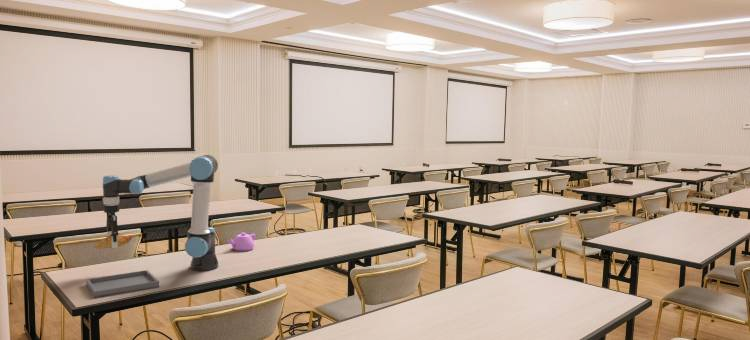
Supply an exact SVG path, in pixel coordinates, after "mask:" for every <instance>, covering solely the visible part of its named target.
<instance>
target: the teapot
mask: <svg viewBox="0 0 750 340" xmlns="http://www.w3.org/2000/svg"><path fill="white" fill-rule="evenodd" d="M255 239H256V233H251V234H247V233H246V232H241V233H240V234H237V235H236V236H235V238H233V239H232V238H228V240H227V241H228V242H229V244H231V246H232V247H231V248H232V249H234V251H237V252H246V251H247V252H248V251H251V250H253V249H254V248H255V243H254V242H255Z"/></svg>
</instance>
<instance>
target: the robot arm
mask: <svg viewBox="0 0 750 340" xmlns="http://www.w3.org/2000/svg"><path fill="white" fill-rule="evenodd" d="M218 163H219V162H218V160H217V159H216V157H214V156H212V155H210V154H205V155H201V156H197V157H195V158H194V159H192V160H191V161H190V162H188V163H187V162H186V163H183V164H180V165H176V166H173V167H169V168H164V169H162V170H161V169H160V170H158V171H155V172H151V173H146V174H143V175H138V176H136V177H133V178H130V179H123V178H122V179H121V178H120V177H119V175H117V174H109V175H104V176H103V177H102V192H103V194H102V195H103V197H102V200H101V201H103V213H106V228H105V229H106V232H107V236H109V235H110V236H111V240H112V248H111V249H116V248H119V247H118V241H117V235H118V234H119V229H118V228H119V227H118V216H117V215H116V214H117V213H119V212H120V195H121V194H122V195H123V194H128V195H129V194H130V195H137V194H138V195H139V194H142V193H143V191H144V190H145V189H149V188H153V187H157V186H160V185H164V184H168V183H172V182H175V181H180V180H183V179H186V178H190V182H191V183H192V186H193V189H192V206H191V207H192V209H191V220H190V221H191V222H190V223H191V224H190V228H189V229H188V230H187V237H186V238H187V239H186V242H185V243H184V250H185V253H186V254H187V255H188V256H190V257H191V258H192V259H191V260H190V261H191V262H190V265H189V266H190V269H191V270H192V271H198V272H199V271H201V272H202V271H211V270H215V269H217V268H218V267H219V261H218V258H217V254H216V229H215V228H214V227H211V226H209V212H210V211H209V210H210V198H211V197H210V196H211V185H212V184H213V183H214V180H215V173H216V172H217V170H218V168H219V164H218ZM111 234H112V235H111ZM107 236H106V237H107Z"/></svg>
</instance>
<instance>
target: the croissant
mask: <svg viewBox="0 0 750 340" xmlns="http://www.w3.org/2000/svg"><path fill="white" fill-rule="evenodd" d="M111 235H112V234H111ZM131 240H132V237H131V236H129V235H128V236H127V235H122V234H121V235H120V234H119V233H118V235H117V241H118V248H120V247H122V246H124V245H126V244H128V243H130V241H131ZM92 248H93V249H94V250H95V249H96V250H102V249H103V250H105V249H106V250H107V249H113V248H112V240H111V236H110V235H109V236H106V237H104V238H102V240H100V241H97V243H95V244H93V246H92Z"/></svg>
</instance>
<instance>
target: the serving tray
mask: <svg viewBox="0 0 750 340" xmlns="http://www.w3.org/2000/svg"><path fill="white" fill-rule="evenodd" d="M85 281H86V282H85V283H86V287H87V288H88V289H89V291H90V293H91V295H92V296H93V298H95V299H96V298H102V297H108V296H113V295H120V294H126V293H130V292H131V293H132V292H137V291H144V290H149V289H155V288H160V281H159V280H158V279H157V278H156V276H154V275H153V273H151V272H150V271H149V270H148V269H145V270H138V271H132V272H131V271H130V272H126V273H125V272H124V273H118V274H112V275H105V276H99V277H90V278H86V280H85Z"/></svg>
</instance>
